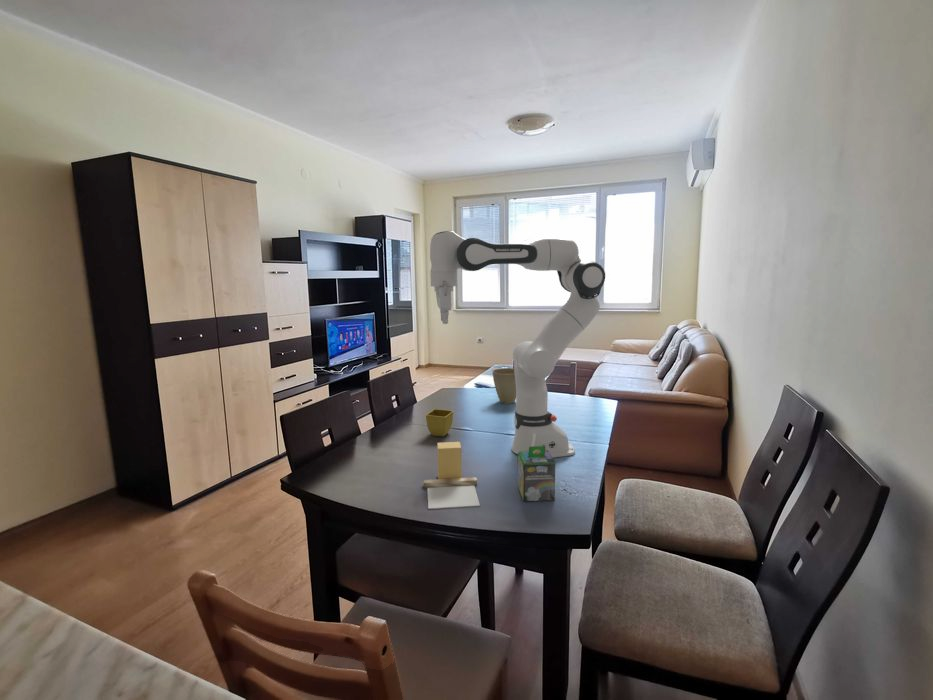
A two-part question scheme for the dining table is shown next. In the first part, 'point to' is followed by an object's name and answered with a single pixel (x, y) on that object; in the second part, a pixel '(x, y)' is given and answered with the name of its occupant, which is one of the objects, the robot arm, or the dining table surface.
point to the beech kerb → (450, 482)
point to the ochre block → (449, 460)
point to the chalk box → (536, 474)
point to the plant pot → (505, 384)
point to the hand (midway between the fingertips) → (444, 322)
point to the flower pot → (439, 421)
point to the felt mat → (452, 497)
